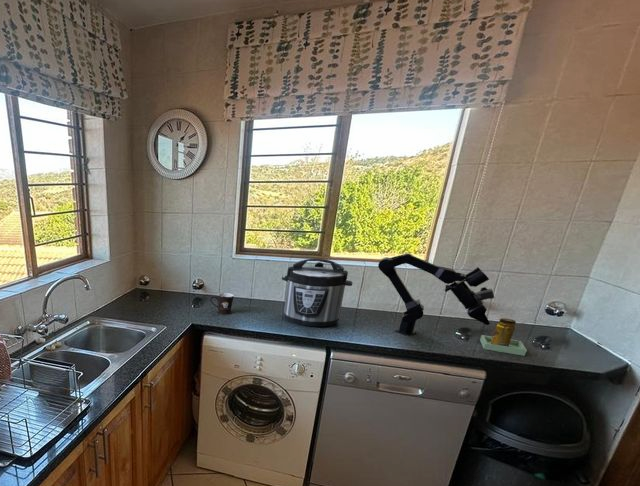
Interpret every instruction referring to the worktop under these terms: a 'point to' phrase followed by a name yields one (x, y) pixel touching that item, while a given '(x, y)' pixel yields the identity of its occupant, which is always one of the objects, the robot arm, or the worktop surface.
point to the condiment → (503, 332)
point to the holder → (517, 345)
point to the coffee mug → (224, 302)
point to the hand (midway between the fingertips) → (487, 321)
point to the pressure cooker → (315, 293)
